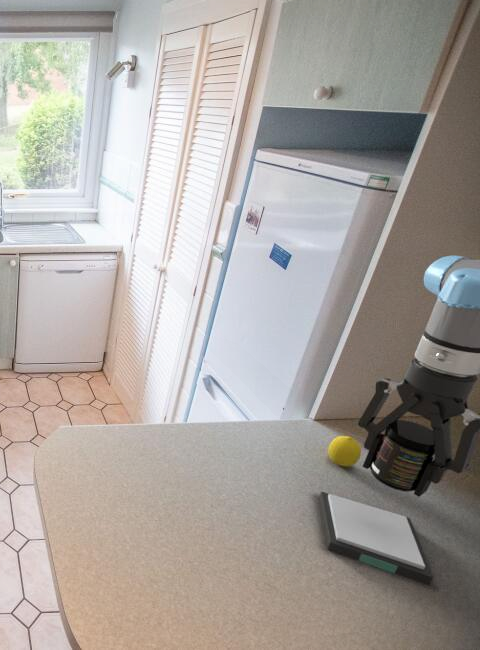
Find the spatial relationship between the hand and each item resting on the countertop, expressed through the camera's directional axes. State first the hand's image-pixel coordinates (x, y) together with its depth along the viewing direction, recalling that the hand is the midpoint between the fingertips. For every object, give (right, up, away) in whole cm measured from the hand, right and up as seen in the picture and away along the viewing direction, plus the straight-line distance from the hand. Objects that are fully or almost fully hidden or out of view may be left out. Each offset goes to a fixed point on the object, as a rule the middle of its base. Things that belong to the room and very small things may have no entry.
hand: (393, 478), depth 81 cm
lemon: (+9, -6, +23) cm, 26 cm away
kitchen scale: (0, -14, +5) cm, 14 cm away
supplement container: (0, 0, 0) cm, 0 cm away
